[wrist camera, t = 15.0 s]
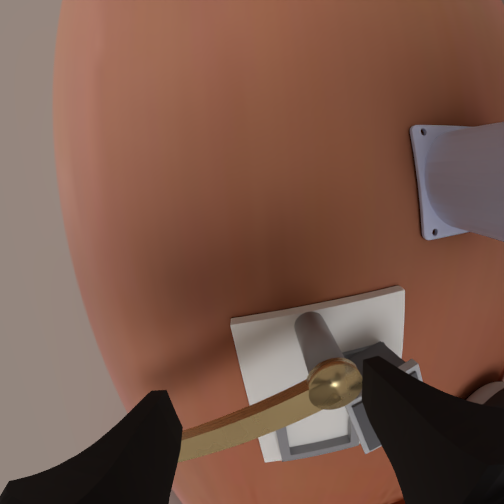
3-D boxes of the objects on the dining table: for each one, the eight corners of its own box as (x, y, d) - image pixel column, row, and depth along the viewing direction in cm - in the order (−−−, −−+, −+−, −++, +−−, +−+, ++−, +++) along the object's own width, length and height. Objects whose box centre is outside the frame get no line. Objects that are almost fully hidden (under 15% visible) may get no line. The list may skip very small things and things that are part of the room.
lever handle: (358, 371, 14) (370, 392, 12) (151, 455, 15) (145, 474, 14) (340, 337, 13) (351, 357, 12) (124, 431, 15) (116, 450, 13)
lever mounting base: (398, 285, 19) (451, 325, 13) (387, 426, 23) (412, 476, 16) (230, 318, 20) (224, 379, 13) (264, 454, 23) (268, 512, 16)
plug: (382, 335, 19) (419, 364, 13) (398, 383, 19) (431, 419, 13) (324, 365, 19) (345, 406, 13) (344, 411, 19) (366, 455, 14)
